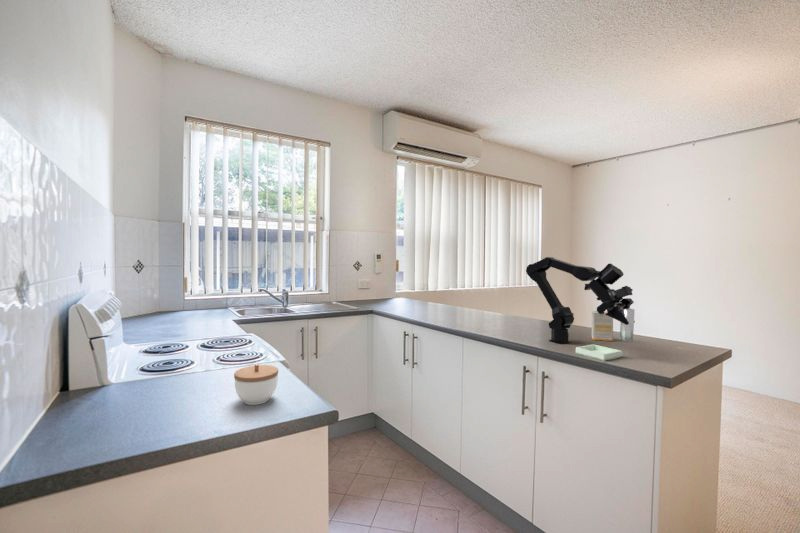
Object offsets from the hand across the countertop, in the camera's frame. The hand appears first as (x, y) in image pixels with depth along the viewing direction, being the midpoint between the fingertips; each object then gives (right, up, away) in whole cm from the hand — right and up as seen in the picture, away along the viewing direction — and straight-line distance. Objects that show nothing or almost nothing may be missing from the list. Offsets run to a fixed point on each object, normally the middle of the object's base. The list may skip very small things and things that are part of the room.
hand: (630, 323), depth 141 cm
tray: (-11, -13, +3) cm, 17 cm away
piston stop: (-1, -7, +1) cm, 7 cm away
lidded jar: (-126, -13, -45) cm, 135 cm away
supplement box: (+5, -13, +30) cm, 33 cm away
